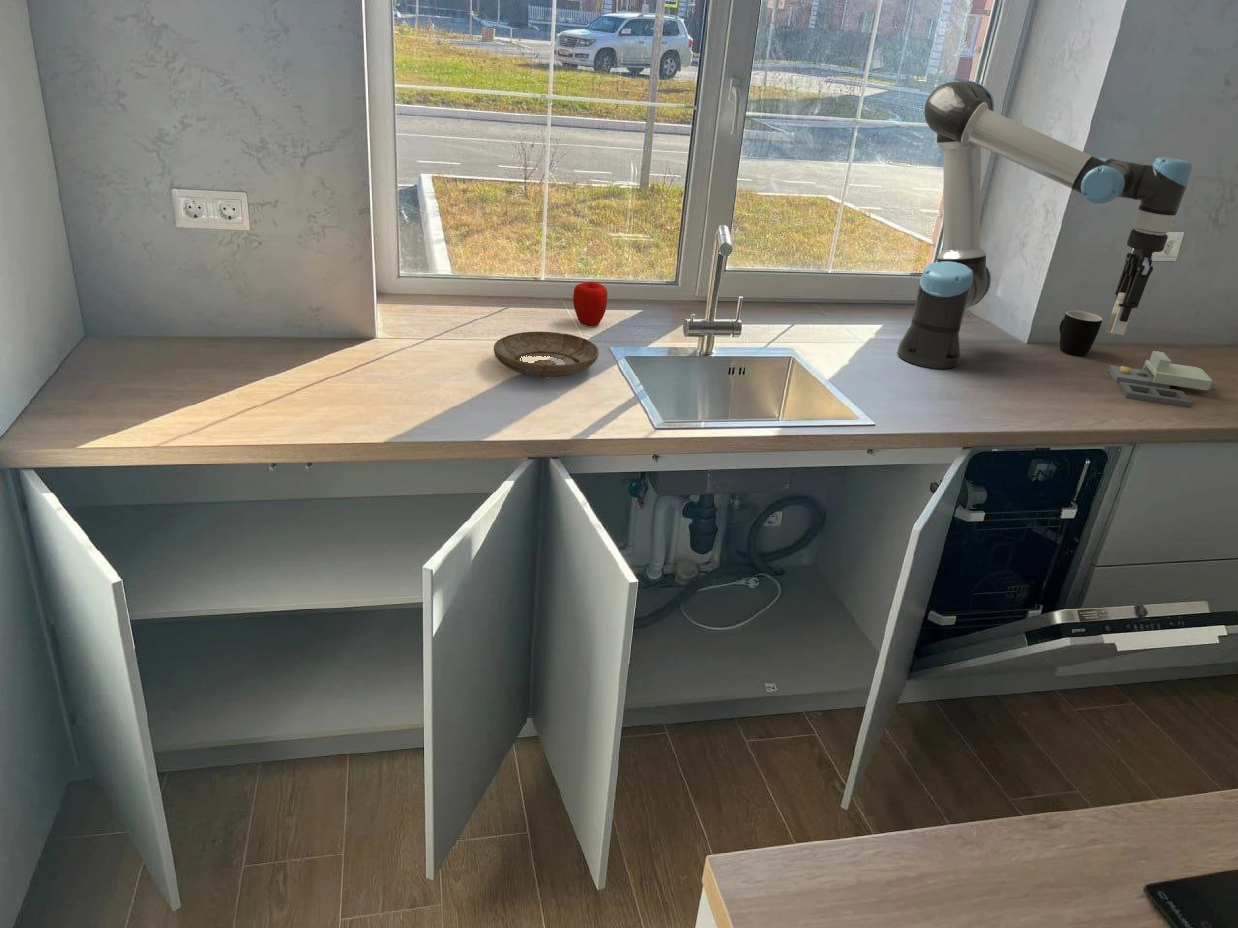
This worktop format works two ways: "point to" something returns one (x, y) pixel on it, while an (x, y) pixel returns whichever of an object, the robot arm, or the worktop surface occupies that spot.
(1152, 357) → the cover
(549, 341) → the brown round shallow bowl
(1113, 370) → the board
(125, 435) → the worktop surface
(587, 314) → the apple
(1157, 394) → the socket board
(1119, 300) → the pin
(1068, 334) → the mug
